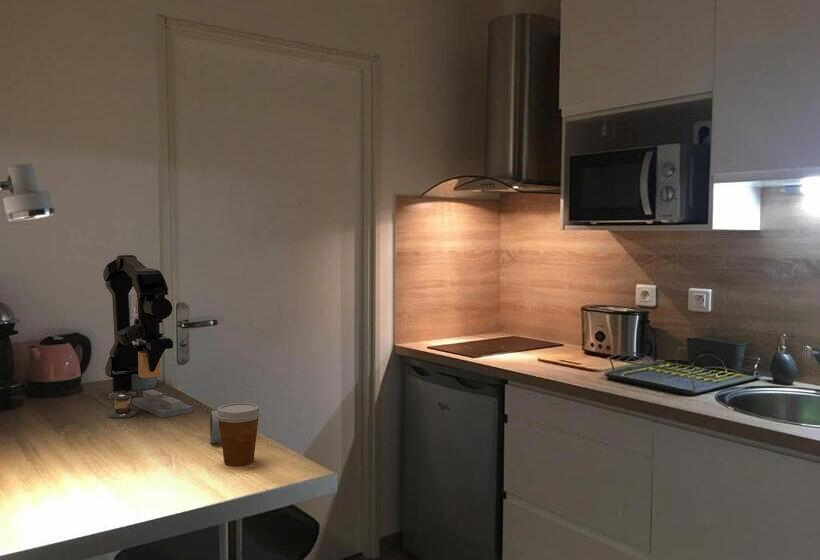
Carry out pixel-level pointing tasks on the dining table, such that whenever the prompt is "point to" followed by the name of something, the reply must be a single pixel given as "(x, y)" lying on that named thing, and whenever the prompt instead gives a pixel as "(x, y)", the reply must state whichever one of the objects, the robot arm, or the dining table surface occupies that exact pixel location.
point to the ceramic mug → (214, 428)
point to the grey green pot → (143, 382)
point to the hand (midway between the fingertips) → (149, 370)
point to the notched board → (159, 408)
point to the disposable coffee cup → (238, 432)
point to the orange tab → (146, 366)
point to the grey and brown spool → (122, 404)
